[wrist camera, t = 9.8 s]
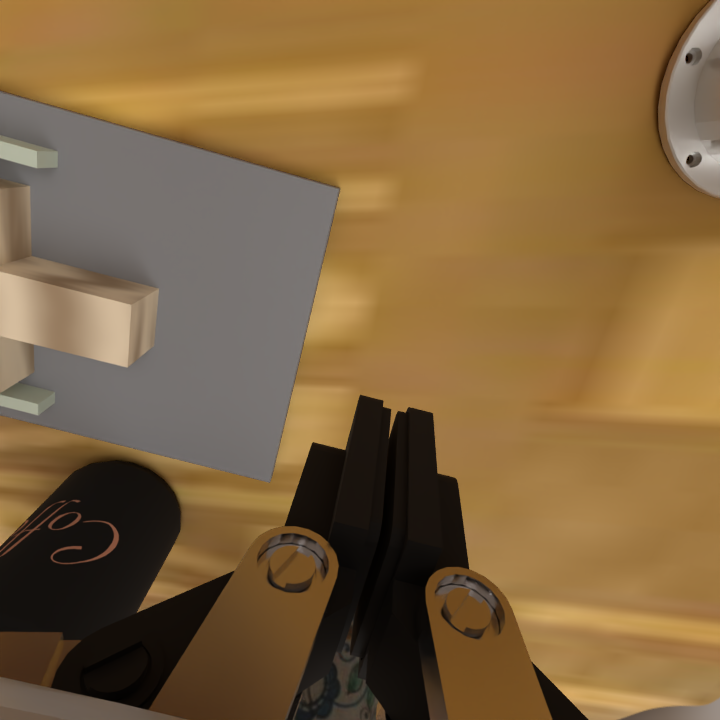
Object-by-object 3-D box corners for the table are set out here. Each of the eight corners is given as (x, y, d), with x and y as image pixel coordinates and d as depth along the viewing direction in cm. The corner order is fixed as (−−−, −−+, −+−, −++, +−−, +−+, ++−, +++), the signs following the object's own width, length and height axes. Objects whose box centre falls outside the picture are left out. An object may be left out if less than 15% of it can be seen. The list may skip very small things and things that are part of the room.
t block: (164, 221, 32) (136, 230, 29) (149, 400, 38) (123, 426, 34) (-39, 168, 32) (-95, 169, 28) (-25, 357, 37) (-70, 380, 33)
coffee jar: (176, 455, 41) (33, 658, 24) (194, 551, 45) (83, 780, 29) (55, 452, 42) (-165, 649, 25) (84, 547, 46) (-88, 770, 29)
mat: (340, 188, 32) (335, 191, 29) (272, 475, 41) (264, 498, 38) (-59, 73, 30) (-104, 65, 28) (-35, 398, 40) (-66, 416, 37)
